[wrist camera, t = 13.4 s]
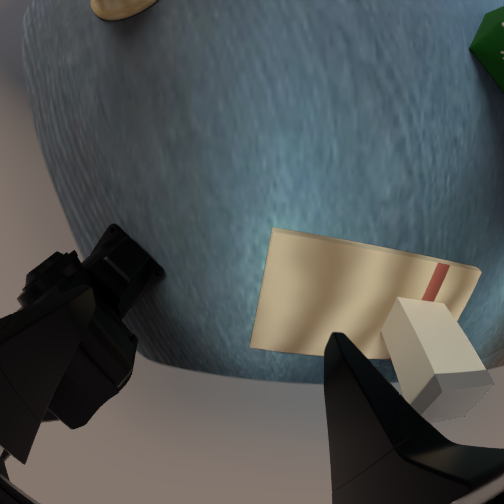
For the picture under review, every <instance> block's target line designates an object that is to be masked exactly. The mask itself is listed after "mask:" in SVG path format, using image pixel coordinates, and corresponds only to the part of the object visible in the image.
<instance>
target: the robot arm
mask: <svg viewBox="0 0 504 504" xmlns="http://www.w3.org/2000/svg"><path fill="white" fill-rule="evenodd" d="M112 228H114V230H115V231H113V229H112ZM77 256H78V255H77V253H76V251H75V250H74V251H72V252H71V253H69V254H68V253H65V254H62V253H60V252H55V253H54V254H53V255H52V256H50V257H49V258H48V259H46V260H45V261H44V262H42V263H41V264H40V265H38V266H37V267H36V268H34V269H33V270H32V271H31V272H29V274H27V276H26V284H25V287H24V288H23V289H22V290H23V292H22V294H20V296H19V297H18V298H17V300H18V302H19V303H20V305H21V306H22V307H21V308H20V309H19V310H18V311H17V312H15V313H13V314H10V315H8V316H5V317H3V318H0V504H40V503H38V502H37V501H36V500H34V499H33V498H31V497H29V496H28V495H27V494H25V493H24V492H23V491H22V490H20V489H19V488H18V487H16V486H15V485H14V484H12V483H11V482H10V480H9V477H8V474H7V470H6V467H5V463H4V461H5V460H6V459H7V458H8V457H9V456H10V455H12V456H13V457H15V458H16V459H17V460H19V461H20V462H21V463H23V464H25V463H26V461H27V458H28V455H29V452H30V450H31V446H32V444H33V442H34V439H35V436H36V434H37V431H38V429H39V426H40V424H41V423H42V422H51V421H58V420H61V421H62V422H63V423H64V424H65V425H67V426H68V427H69V428H70V429H76V428H79V427H81V426H84V425H85V424H87V422H88V421H89V420H90V419H91V417H92V416H93V415H94V414H95V412H96V411H97V410H98V409H99V407H101V406H102V405H103V404H104V403H105V402H106V401H107V400H109V399H110V398H112V397H113V396H115V395H116V394H118V393H119V391H120V390H121V389H122V388H123V387H124V386H125V385H126V383H127V382H128V381H129V379H130V377H131V375H132V371H133V366H134V359H135V353H136V348H137V343H138V338H137V337H136V336H135V335H134V334H132V333H131V332H130V330H129V329H128V328H127V327H126V325H125V324H124V323H123V322H122V319H123V318H124V316H125V315H126V313H127V312H128V310H129V309H130V308H132V307H133V306H134V305H135V304H136V302H137V301H138V300H139V299H140V298H141V297H142V296H143V295H144V294H145V293H146V292H147V291H148V290H149V289H150V288H151V287H152V286H153V285H154V284H155V283H156V282H157V281H158V280H159V278H160V277H161V276H162V275H163V273H164V270H163V268H162V267H161V266H160V265H159V264H157V263H156V262H155V261H154V260H153V259H152V258H151V257H150V256H149V255H148V254H147V253H146V252H145V251H144V250H143V249H142V248H141V247H140V246H139V245H138V244H137V243H136V242H134V241H133V240H132V239H131V238H130V237H129V236H128V235H127V234H126V233H125V232H124V231H123V230H122V229H121V228H120V227H119V226H118V225H116V224H111V225H110V226H109V227H108V228H107V230H106V231H105V233H104V234H103V236H102V237H101V239H100V240H99V242H98V243H97V245H96V247H95V248H94V250H93V251H92V253H91V255H90V256H89V257H88V258H86V259H85V260H84V261H83V262H82V263H81V262H80V260H79V259H78V257H77ZM156 270H157V271H159V272H160V273H157V272H156ZM324 395H325V405H326V415H327V426H328V436H329V450H330V464H331V481H332V504H504V449H499V448H486V447H476V446H467V445H460V444H456V443H454V442H451V441H450V440H448V439H447V438H445V437H444V436H443V435H442V434H441V433H440V432H439V431H438V430H436V429H435V428H434V427H433V426H432V425H431V424H430V423H429V422H428V421H426V420H425V419H424V418H423V417H422V416H421V415H420V414H419V413H418V412H417V411H416V410H415V409H414V408H413V407H412V406H411V405H410V404H409V403H408V402H407V401H406V400H405V399H404V398H403V397H402V395H401V394H400V395H399V392H398V391H397V390H396V389H395V388H394V387H393V386H392V385H391V383H390V382H389V381H388V380H387V379H386V378H385V377H384V376H383V375H382V374H381V373H380V371H379V370H378V369H377V368H376V367H375V366H374V365H373V364H372V363H371V362H370V361H369V359H368V358H367V357H366V356H365V355H364V354H363V353H362V352H361V351H360V350H359V349H358V348H357V347H356V345H355V344H354V343H353V342H352V341H351V340H350V339H349V338H348V337H347V336H346V335H345V334H344V333H342V332H332V333H331V335H330V337H329V340H328V342H327V344H326V347H325V350H324Z"/></svg>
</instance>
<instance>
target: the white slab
mask: <svg viewBox="0 0 504 504" xmlns="http://www.w3.org/2000/svg"><path fill="white" fill-rule="evenodd" d="M381 332H382V335H383V338H384V340H385V343H386V346H387V349H388V351H389V354H390V357H391V360H392V363H393V366H394V369H395V372H396V375H397V378H398V381H399V384H400V387H401V390H402V393H403V397H404V399H405V400H406V401H407V402H408V403H409V404H410V405H411V406H412V407H413V408H414V409H415V410H416V411H417V412H418V413H419V414H420V415H421V416H422V417H423V418H424V419H425V420H426V421H428V422H429V423H434V422H440V421H445V420H451V419H456V418H460V417H465V416H466V415H467V414H468V413H469V411H471V409H472V408H474V406H475V405H476V404H477V403H478V402H479V401H480V400H481V399H482V398H483V397H484V396H485V394H486V393H487V392H488V391H489V390H490V389H491V387H492V386H493V385H494V382H493V380H492V378H491V376H490V374H489V373H488V371H487V370H486V369H485V367H484V365H483V363H482V362H481V360H480V358H479V357H478V355H477V353H476V351H475V350H474V348H473V346H472V345H471V343H470V342H469V340H468V338H467V337H466V335H465V334H464V332H463V331H462V329H461V327H460V326H459V324H458V323H457V321H456V320H455V318H454V317H453V315H452V314H451V313H450V311H449V310H448V308H447V307H446V305H445V304H444V303H438V302H431V301H423V300H416V299H409V298H402V297H397V298H396V300H395V302H394V304H393V307H392V309H391V311H390V313H389V315H388V317H387V319H386V321H385V323H384V325H383V327H382V329H381Z"/></svg>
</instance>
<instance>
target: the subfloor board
mask: <svg viewBox="0 0 504 504" xmlns="http://www.w3.org/2000/svg"><path fill="white" fill-rule="evenodd" d="M481 273H482V272H481V271H480V270H479V269H478V268H477V267H474V266H469V265H465V264H460V263H456V262H451V261H447V260H442V259H438V258H433V257H428V256H424V255H419V254H414V253H409V252H404V251H399V250H394V249H389V248H384V247H379V246H374V245H369V244H364V243H358V242H353V241H348V240H342V239H337V238H331V237H326V236H320V235H315V234H309V233H303V232H297V231H292V230H286V229H280V228H274V227H272V231H271V236H270V242H269V247H268V253H267V258H266V263H265V269H264V274H263V279H262V285H261V290H260V295H259V300H258V305H257V311H256V316H255V321H254V326H253V331H252V336H251V341H250V348H257V349H264V350H271V351H279V352H288V353H297V354H307V355H318V356H324V350H325V347H326V344H327V342H328V340H329V337H330V335H331V333H332V332H342V333H344V334H345V335H346V336H347V337H348V338H349V339H350V340H351V341H352V342H353V343H354V344H355V345H356V347H357V348H358V349H359V350H360V351H361V352H362V353H363V354H364V355H365V356H366V357H367V358H368V359H389V360H391V357H390V354H389V351H388V349H387V346H386V343H385V340H384V338H383V335H382V332H381V329H382V327H383V325H384V323H385V321H386V319H387V317H388V315H389V313H390V311H391V309H392V307H393V304H394V302H395V300H396V298H397V297H402V298H409V299H416V300H423V301H431V302H438V303H444V304H445V305H446V307H447V308H448V310H449V311H450V313H451V314H452V315H453V317H454V318H455V320H456V321H457V320H458V318H459V317H460V315H461V313H462V311H463V309H464V307H465V306H466V304H467V302H468V300H469V298H470V296H471V294H472V292H473V290H474V288H475V286H476V284H477V281H478V279H479V277H480V275H481Z"/></svg>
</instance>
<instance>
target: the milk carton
mask: <svg viewBox="0 0 504 504" xmlns="http://www.w3.org/2000/svg"><path fill="white" fill-rule="evenodd" d="M469 49H470V50H471V51H472V53H473V54H474V55H475V56H476V57H477V58H478V60H479V61H480V62H481V63H482V65H483V66H484V67H485V68H486V70H487V71H488V72H489V73H490V75H491V76H492V77H493V79H494V80H495V82H496V83H497V84H498V86H499V87H500V89H501V90H502V91H503V93H504V6H503V7H500V8H498V9H496V10H493V11H491V12H489V13H487V14H485V17H484V19H483V21H482V23H481V25H480V27H479V29H478V31H477V34H476V36H475V38H474V40H473V42H472V44H471V45H470V47H469Z"/></svg>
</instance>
